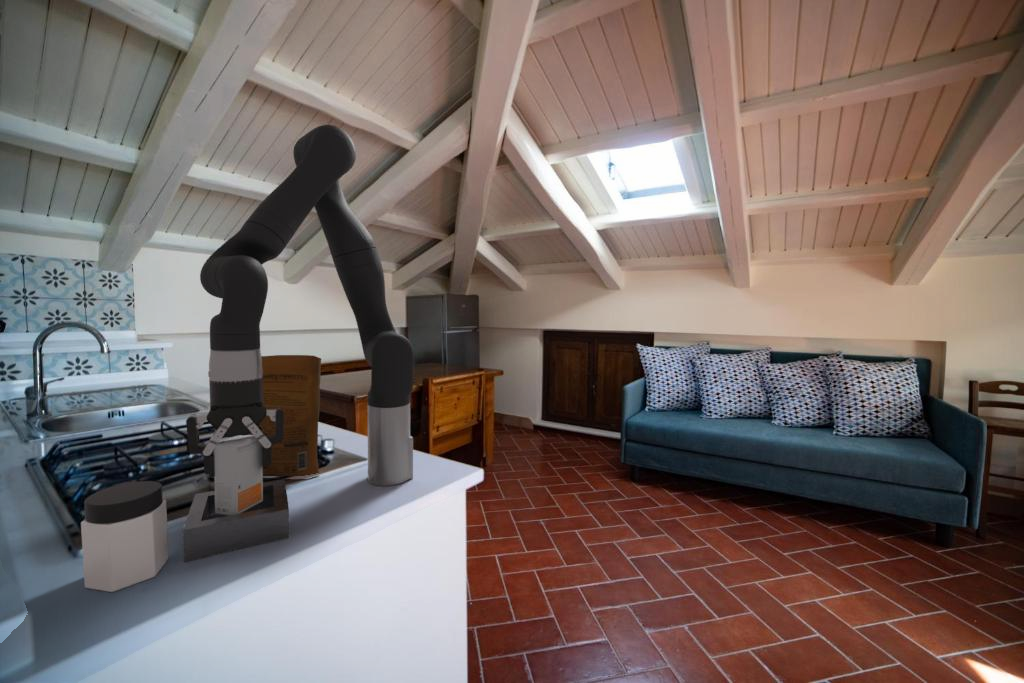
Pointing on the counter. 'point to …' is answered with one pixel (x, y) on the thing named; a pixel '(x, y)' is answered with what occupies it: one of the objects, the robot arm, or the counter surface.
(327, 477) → the counter surface
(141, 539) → the jar
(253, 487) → the skincare box
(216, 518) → the socket block
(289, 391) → the pancake mix bag
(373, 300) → the robot arm
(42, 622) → the counter surface
